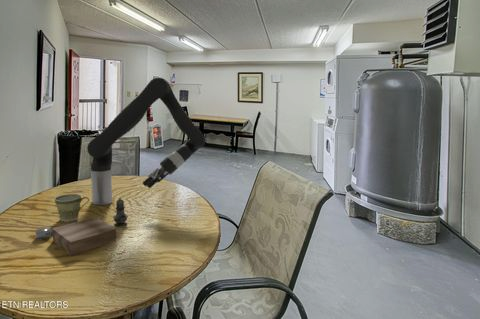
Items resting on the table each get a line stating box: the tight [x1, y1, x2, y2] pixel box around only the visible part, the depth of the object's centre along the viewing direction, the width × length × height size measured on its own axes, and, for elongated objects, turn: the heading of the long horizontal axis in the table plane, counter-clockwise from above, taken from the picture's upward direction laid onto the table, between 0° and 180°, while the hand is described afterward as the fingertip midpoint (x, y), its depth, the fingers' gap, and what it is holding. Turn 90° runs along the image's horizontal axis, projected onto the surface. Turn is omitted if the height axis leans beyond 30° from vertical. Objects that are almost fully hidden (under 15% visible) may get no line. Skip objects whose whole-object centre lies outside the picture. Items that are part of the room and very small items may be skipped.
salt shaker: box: [112, 197, 129, 228], centre depth 127 cm, size 6×6×12 cm
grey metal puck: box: [35, 226, 53, 240], centre depth 114 cm, size 5×5×3 cm
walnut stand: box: [51, 216, 118, 257], centre depth 112 cm, size 16×16×5 cm
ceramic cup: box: [54, 193, 90, 223], centre depth 131 cm, size 13×10×10 cm
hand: (145, 185), depth 138 cm, fingers open, 8 cm apart
